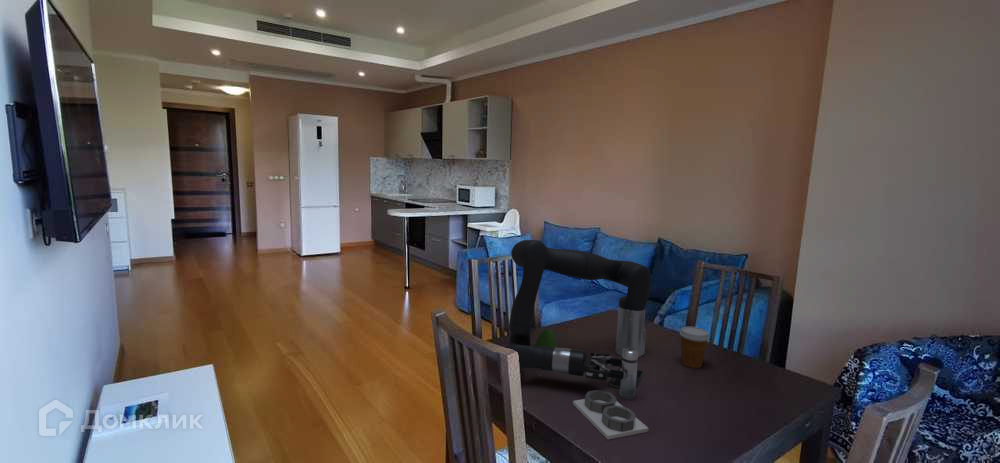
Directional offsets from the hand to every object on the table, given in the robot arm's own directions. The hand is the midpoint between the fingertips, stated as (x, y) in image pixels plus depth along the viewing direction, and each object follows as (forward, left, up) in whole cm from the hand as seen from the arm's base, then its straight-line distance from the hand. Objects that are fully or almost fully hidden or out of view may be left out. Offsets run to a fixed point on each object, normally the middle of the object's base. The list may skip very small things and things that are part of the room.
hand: (624, 369), depth 139 cm
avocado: (+13, -26, -8) cm, 30 cm away
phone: (-7, -8, -9) cm, 14 cm away
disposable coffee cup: (-36, -12, -8) cm, 39 cm away
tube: (-1, +1, -8) cm, 8 cm away
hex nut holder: (+11, +10, -8) cm, 17 cm away
